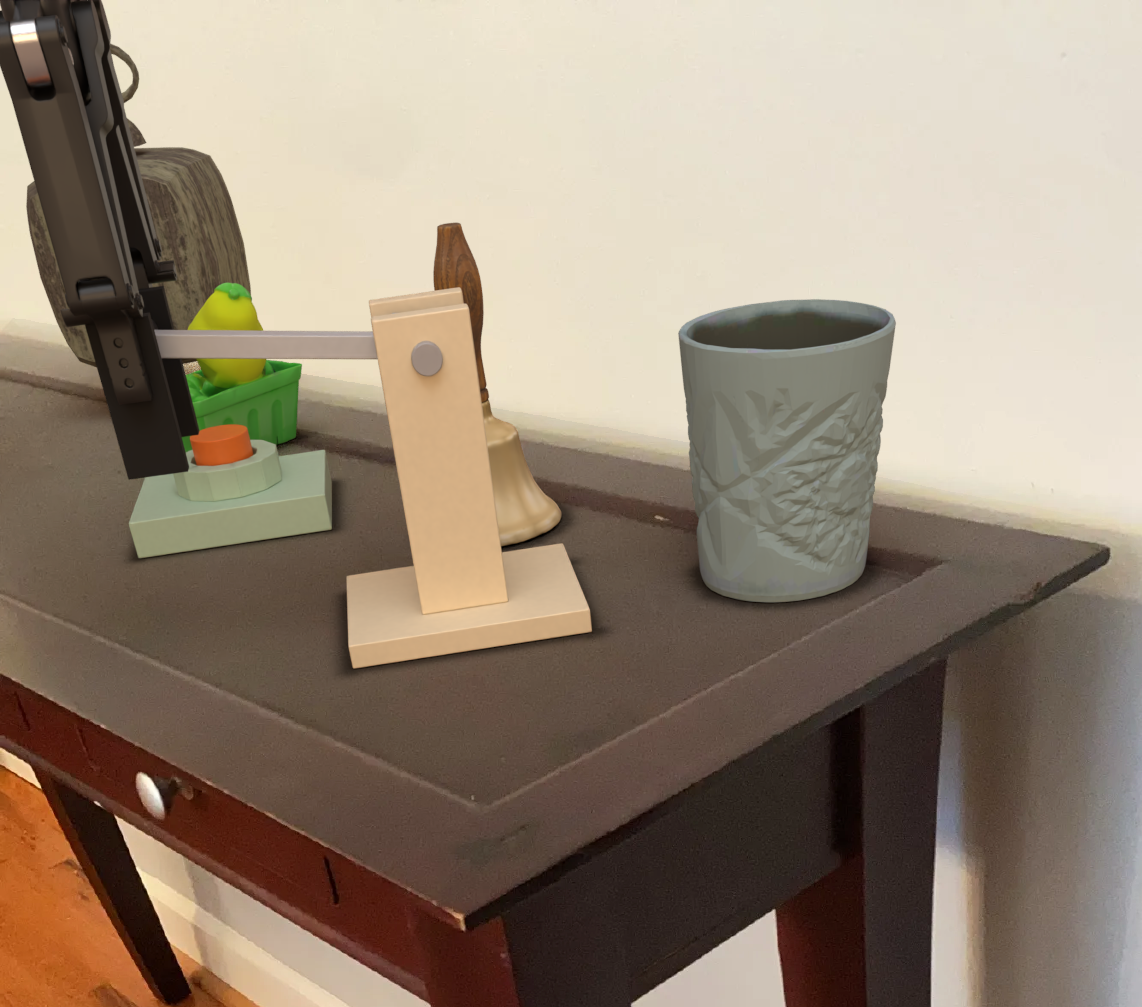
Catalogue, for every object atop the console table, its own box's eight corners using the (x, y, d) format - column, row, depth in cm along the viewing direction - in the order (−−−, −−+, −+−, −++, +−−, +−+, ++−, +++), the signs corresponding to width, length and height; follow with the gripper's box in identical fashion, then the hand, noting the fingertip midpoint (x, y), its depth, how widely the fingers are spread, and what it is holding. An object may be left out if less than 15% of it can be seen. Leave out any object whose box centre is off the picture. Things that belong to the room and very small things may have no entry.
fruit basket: (249, 426, 108) (211, 264, 101) (333, 435, 103) (299, 266, 96) (139, 472, 101) (90, 301, 94) (224, 483, 96) (179, 304, 89)
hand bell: (401, 548, 82) (346, 243, 72) (460, 501, 88) (417, 213, 78) (529, 552, 79) (491, 236, 69) (582, 503, 85) (553, 205, 75)
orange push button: (194, 474, 86) (187, 444, 85) (199, 457, 89) (191, 429, 88) (252, 465, 86) (245, 436, 85) (255, 449, 89) (248, 421, 88)
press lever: (117, 386, 61) (108, 327, 60) (131, 359, 66) (123, 303, 64) (458, 387, 63) (457, 329, 62) (450, 360, 68) (449, 306, 66)
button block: (138, 559, 85) (118, 493, 83) (154, 509, 93) (137, 447, 91) (332, 530, 86) (318, 463, 83) (332, 482, 94) (319, 420, 91)
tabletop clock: (274, 382, 118) (196, 25, 103) (244, 412, 111) (155, 34, 96) (115, 397, 121) (14, 49, 105) (75, 427, 113) (-38, 58, 98)
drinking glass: (687, 546, 77) (675, 309, 70) (872, 529, 76) (879, 288, 69) (694, 616, 69) (681, 358, 62) (899, 599, 68) (911, 334, 61)
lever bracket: (352, 669, 68) (284, 345, 59) (350, 596, 76) (289, 301, 67) (592, 632, 69) (560, 305, 60) (565, 564, 77) (533, 266, 68)
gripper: (58, -225, 45) (233, 503, 59) (125, -179, 59) (253, 395, 74) (-178, -199, 44) (55, 528, 58) (-52, -159, 59) (111, 414, 73)
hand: (165, 453), depth 66 cm, fingers closed on press lever, 5 cm apart
